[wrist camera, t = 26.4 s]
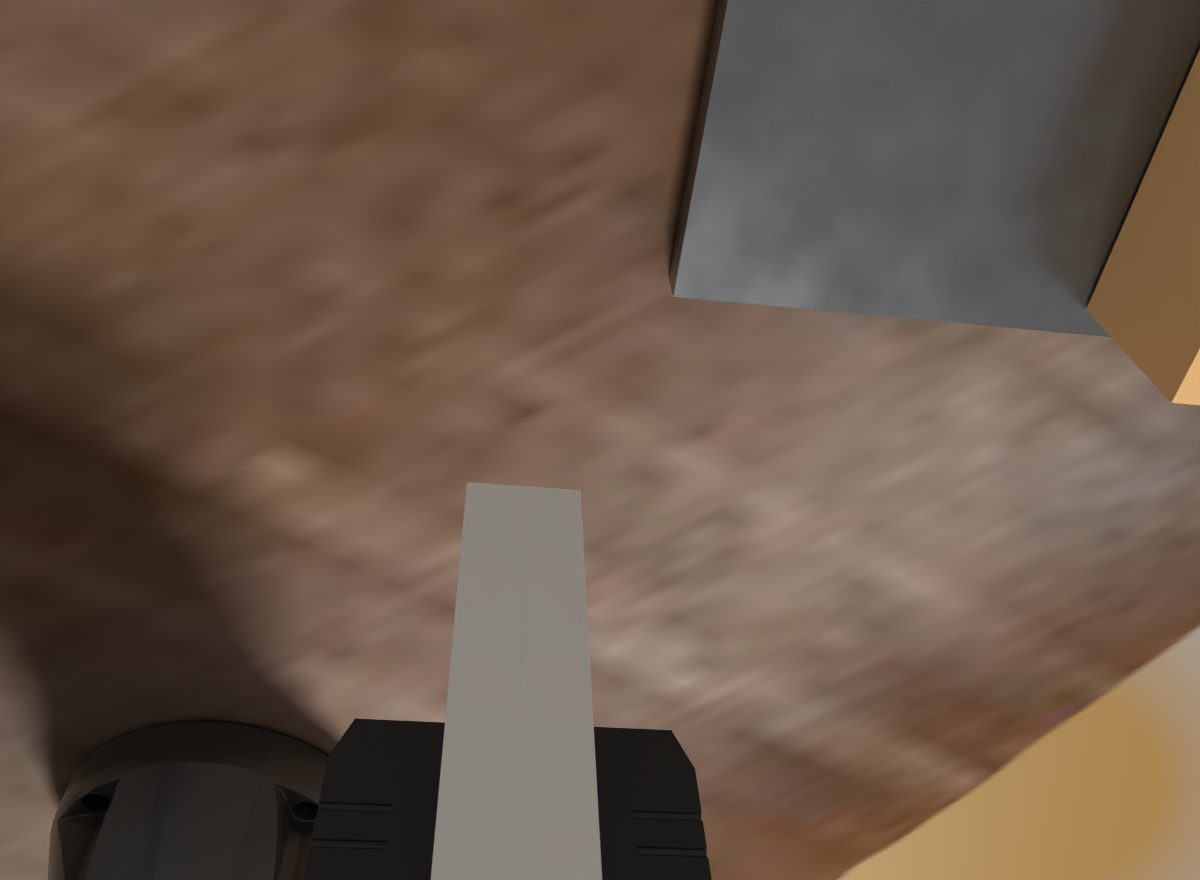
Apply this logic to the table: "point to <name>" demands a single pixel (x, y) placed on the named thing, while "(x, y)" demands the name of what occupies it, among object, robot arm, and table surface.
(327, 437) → the table surface
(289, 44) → the table surface
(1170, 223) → the bar
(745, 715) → the table surface
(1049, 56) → the base
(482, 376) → the table surface
